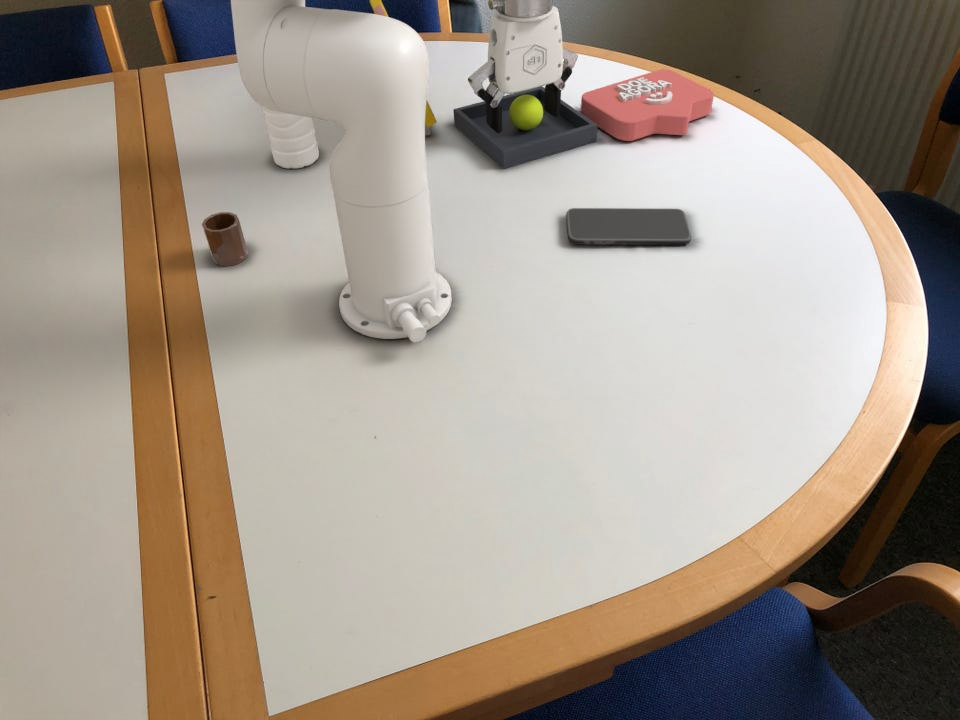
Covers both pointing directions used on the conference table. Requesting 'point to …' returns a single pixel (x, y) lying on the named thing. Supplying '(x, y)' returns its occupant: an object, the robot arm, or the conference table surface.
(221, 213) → the cup
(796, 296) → the conference table surface
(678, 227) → the smartphone
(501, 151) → the tray
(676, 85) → the plaque
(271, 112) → the water bottle
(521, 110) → the ball
